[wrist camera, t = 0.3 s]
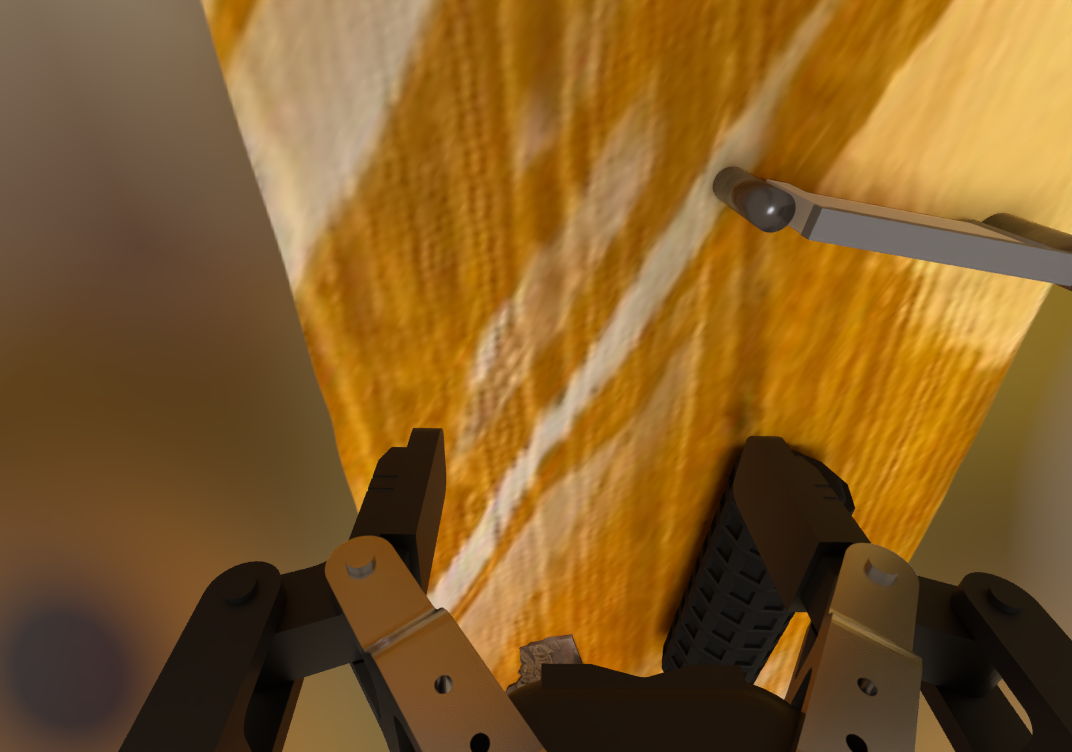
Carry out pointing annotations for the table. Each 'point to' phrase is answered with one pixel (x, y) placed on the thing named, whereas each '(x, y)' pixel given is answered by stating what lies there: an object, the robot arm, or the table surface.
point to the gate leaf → (925, 237)
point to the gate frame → (778, 208)
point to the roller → (733, 594)
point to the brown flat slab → (545, 657)
